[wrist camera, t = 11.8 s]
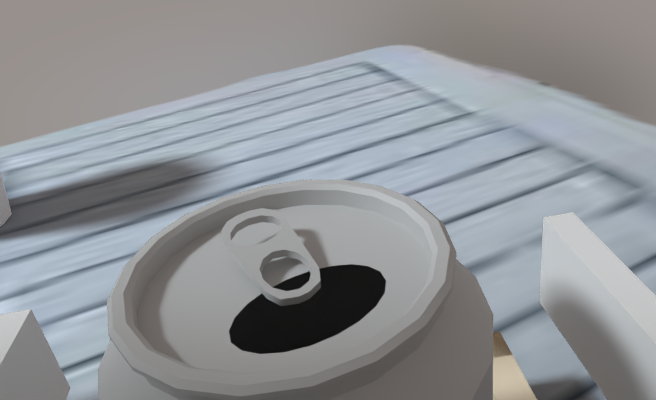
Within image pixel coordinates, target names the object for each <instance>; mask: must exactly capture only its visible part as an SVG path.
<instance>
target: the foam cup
mask: <svg viewBox="0 0 656 400" xmlns="http://www.w3.org/2000/svg"><path fill="white" fill-rule="evenodd" d="M11 215H12V212H11V208H10V205H9V200H8V197H7V193H6V190H5V187H4V183H3V180H2V177H1V173H0V226H2V225H3V224H4V223H5V222H6V221H7V220H8V218H9V217H10V216H11Z"/></svg>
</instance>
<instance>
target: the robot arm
mask: <svg viewBox="0 0 656 400" xmlns="http://www.w3.org/2000/svg"><path fill="white" fill-rule="evenodd" d="M540 303H541V305H542V306H543V308H544V309H545V310H546V312H547V313H548V315H549V316H550V318H551V319H552V321H553V322H554V323H555V325H556V326H557V328H558V329H559V331H560V332H561V334H562V335H563V336H564V338H565V339H566V341H567V342H568V344H569V345H570V347H571V348H572V349H573V351H574V352H575V354H576V355H577V357H578V358H579V360H580V361H581V362H582V364H583V365H584V367H585V368H586V370H587V371H588V373H589V374H590V375H591V377H592V378H593V380H594V381H595V383H596V384H597V385H598V387H599V388H600V390H601V391H602V393H603V394H604V396H605V397H606V398H607V400H656V296H655V295H654V294H653V293H652V291H651V290H650V289H649V288H648V287H647V286H646V285H645V284H644V283H643V282H642V281H641V280H640V279H639V278H638V277H637V276H636V275H635V274H634V273H633V272H632V271H631V270H630V269H629V268H628V267H627V266H626V265H625V264H624V263H623V262H622V261H621V260H620V259H619V258H618V257H617V256H616V255H615V254H614V253H613V252H612V251H611V250H610V249H609V248H608V247H607V246H606V245H605V244H604V243H603V242H602V241H601V240H600V239H599V238H598V237H597V236H596V235H595V234H594V233H593V232H592V231H591V230H590V229H589V228H588V227H587V226H586V225H585V224H584V223H583V222H582V221H581V220H580V219H579V218H578V217H577V216H576V215H575V214H574V213H573V212H572V213H566V214H560V215H555V216H549V217H544V218H543V240H542V261H541V282H540ZM69 390H70V386H69V384H68V382H67V380H66V378H65V376H64V374H63V372H62V370H61V368H60V366H59V364H58V362H57V360H56V358H55V356H54V354H53V352H52V350H51V348H50V346H49V344H48V342H47V340H46V338H45V336H44V334H43V332H42V330H41V328H40V326H39V324H38V322H37V320H36V318H35V316H34V314H33V312H32V310H31V309H29V310H23V311H18V312H12V313H7V314H1V315H0V400H66V397H67V395H68V392H69Z"/></svg>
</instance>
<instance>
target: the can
mask: <svg viewBox="0 0 656 400" xmlns="http://www.w3.org/2000/svg"><path fill="white" fill-rule="evenodd" d="M107 309H108V329H109V337H110V342H109V344H108V346H107V349H106V351H105V354H104V356H103V358H102V361H101V363H100V366H99V368H98V400H493V313H492V311H491V309H490V307H489V305H488V302H487V300H486V298H485V296H484V294H483V292H482V290H481V287H480V285H479V283H478V281H477V279H476V277H475V276H474V275H473V274H472V273H471V272H470V271H469V270H468V269H467V268H465V267H464V266H463V265H462V264H461V263H460V262H459V261H458V260H457V259H456V251H455V248H454V246H453V244H452V241H451V239H450V237H449V235H448V232H447V230H446V228H445V226H444V223H443V222H441V221H440V220H439V219H438V218H437V217H435V216H434V215H433V214H432V213H431V212H430V211H428V210H427V209H426V208H425V207H424V206H422V205H421V204H420V203H419V202H417V201H416V200H414V199H411V198H409V197H406V196H404V195H402V194H399V193H397V192H394V191H392V190H389V189H387V188H384V187H382V186H377V185H371V184H365V183H359V182H354V181H348V180H299V181H293V182H286V183H279V184H272V185H265V186H261V187H257V188H254V189H250V190H247V191H243V192H240V193H236V194H233V195H230V196H226V197H223V198H220V199H218V200H216V201H214V202H212V203H209V204H207V205H205V206H203V207H201V208H198V209H196V210H194V211H192V212H190V213H187V214H185V215H184V216H182V217H181V218H179V219H178V220H176V221H175V222H173V223H172V224H170V225H169V226H167V227H166V228H164V229H163V230H161V231H160V232H158V233H157V234H156V235H154V236H153V237H151V238H150V239H149V240H148V241H147V242H146V244H145V245H144V246H143V247H142V248H141V249H140V250H139V251H138V252H137V253H136V254H135V255H134V256H133V257H132V258H131V260H130V261H129V262H128V263H127V264H126V265H125V266H124V267H123V269H122V270H121V273H120V275H119V277H118V279H117V281H116V283H115V286H114V288H113V290H112V292H111V294H110V297H109V299H108V301H107Z"/></svg>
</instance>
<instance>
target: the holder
mask: <svg viewBox="0 0 656 400" xmlns="http://www.w3.org/2000/svg"><path fill="white" fill-rule="evenodd" d="M493 400H537V399H536V397H535V395H534V393H533V391H532V390H531V388H530V386H529V384H528V382H527V381H526V379H525V377H524V375H523V373H522V371H521V370H520V368H519V366H518V364H517V362H516V361H515V359H514V357H513V355H512V353H511V351H510V350H509V348H508V346H507V344H506V342H505V341H504V339H503V337H502V335H501V333H500V332H495V333H493Z"/></svg>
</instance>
